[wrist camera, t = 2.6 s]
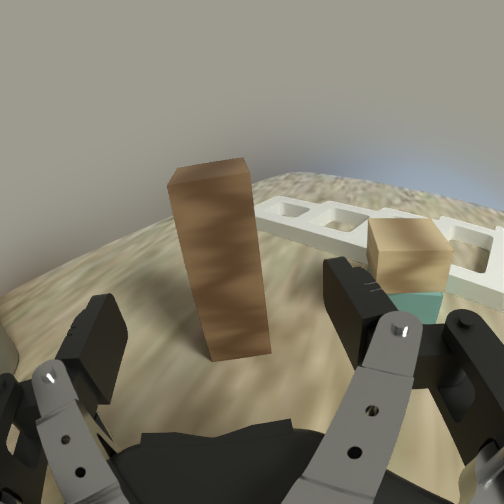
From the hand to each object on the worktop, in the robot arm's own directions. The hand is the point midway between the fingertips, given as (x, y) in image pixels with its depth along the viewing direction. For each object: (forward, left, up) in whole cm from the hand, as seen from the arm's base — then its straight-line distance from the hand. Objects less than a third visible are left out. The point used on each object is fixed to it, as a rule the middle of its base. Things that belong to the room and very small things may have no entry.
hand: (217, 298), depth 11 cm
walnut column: (-5, +10, -13) cm, 17 cm away
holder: (+10, +32, -13) cm, 36 cm away
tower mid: (+9, +17, -9) cm, 21 cm away
